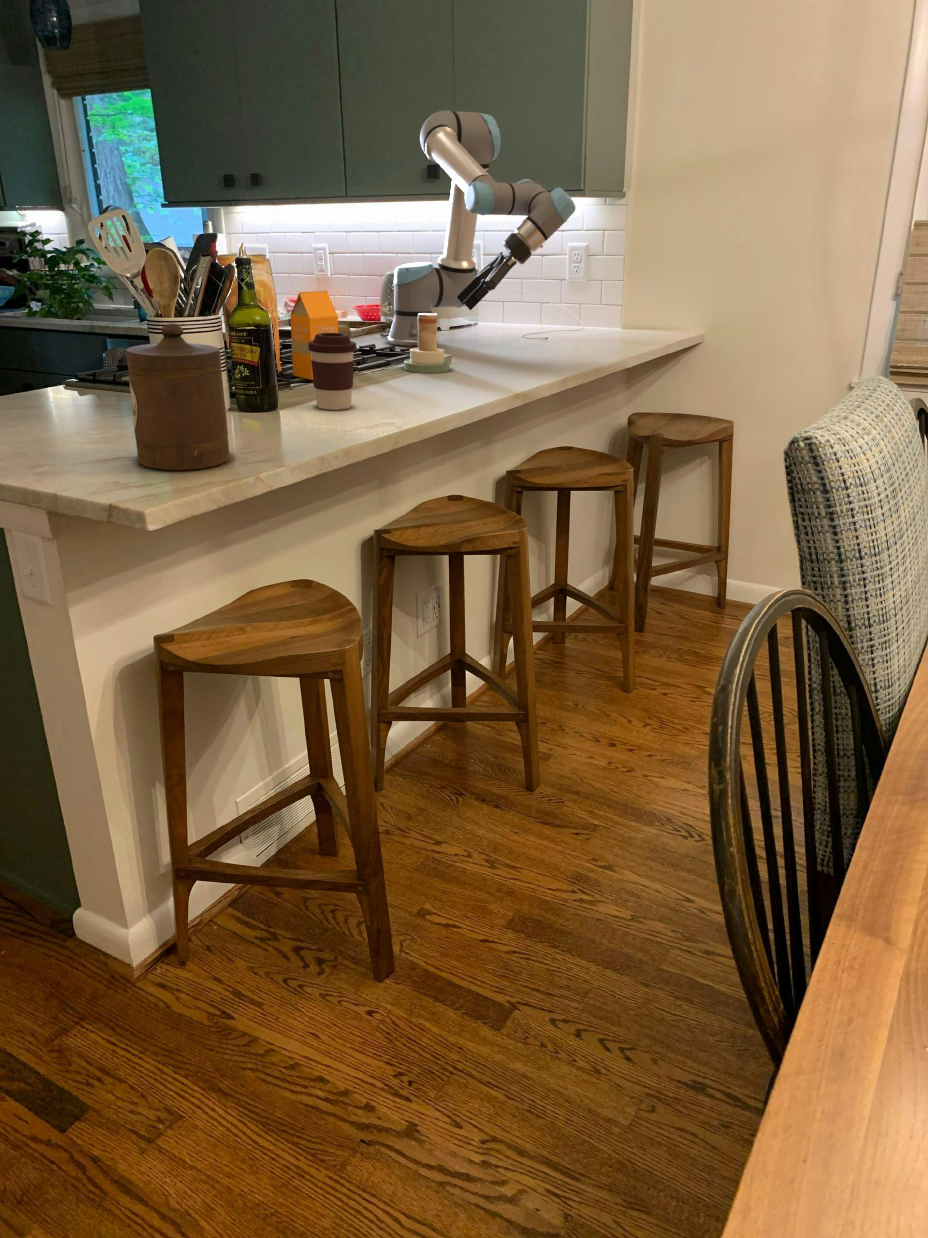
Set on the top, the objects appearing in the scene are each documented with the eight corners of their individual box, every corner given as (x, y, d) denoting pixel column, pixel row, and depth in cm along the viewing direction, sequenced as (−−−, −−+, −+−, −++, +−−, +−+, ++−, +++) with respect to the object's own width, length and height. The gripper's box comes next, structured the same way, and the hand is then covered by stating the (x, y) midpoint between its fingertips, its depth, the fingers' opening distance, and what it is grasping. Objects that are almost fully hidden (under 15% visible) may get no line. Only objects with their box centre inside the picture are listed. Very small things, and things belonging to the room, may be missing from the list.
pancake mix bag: (212, 377, 227) (203, 253, 216) (273, 368, 241) (267, 252, 229) (230, 380, 223) (221, 255, 212) (291, 371, 237) (285, 253, 225)
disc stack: (395, 367, 247) (395, 348, 245) (428, 363, 255) (428, 345, 253) (425, 374, 239) (425, 354, 237) (458, 370, 247) (459, 350, 245)
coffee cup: (319, 413, 194) (317, 338, 187) (304, 404, 201) (301, 332, 195) (364, 410, 198) (363, 336, 192) (347, 401, 206) (345, 330, 200)
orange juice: (339, 376, 234) (337, 291, 226) (312, 379, 228) (309, 293, 220) (320, 371, 239) (317, 289, 230) (292, 375, 233) (288, 290, 224)
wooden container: (170, 445, 166) (157, 316, 157) (245, 453, 162) (236, 321, 153) (119, 465, 153) (102, 325, 144) (199, 475, 149) (187, 332, 140)
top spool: (413, 349, 245) (413, 313, 241) (428, 347, 248) (428, 312, 245) (426, 351, 242) (426, 315, 238) (441, 350, 245) (441, 314, 241)
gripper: (542, 256, 227) (480, 319, 232) (523, 251, 250) (466, 308, 254) (522, 232, 225) (459, 297, 229) (504, 229, 247) (447, 287, 251)
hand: (462, 303), depth 241 cm, fingers open, 13 cm apart
